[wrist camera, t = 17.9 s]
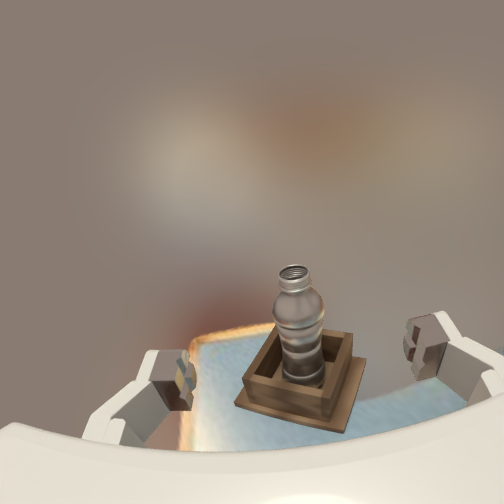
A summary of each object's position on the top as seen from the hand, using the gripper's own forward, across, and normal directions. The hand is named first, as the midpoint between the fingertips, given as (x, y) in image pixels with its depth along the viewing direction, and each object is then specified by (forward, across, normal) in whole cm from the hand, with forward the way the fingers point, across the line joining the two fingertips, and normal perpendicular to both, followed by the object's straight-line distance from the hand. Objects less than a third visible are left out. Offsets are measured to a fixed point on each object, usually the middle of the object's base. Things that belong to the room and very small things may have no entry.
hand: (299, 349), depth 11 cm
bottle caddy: (+23, 0, +32) cm, 40 cm away
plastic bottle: (+23, -1, +31) cm, 39 cm away
